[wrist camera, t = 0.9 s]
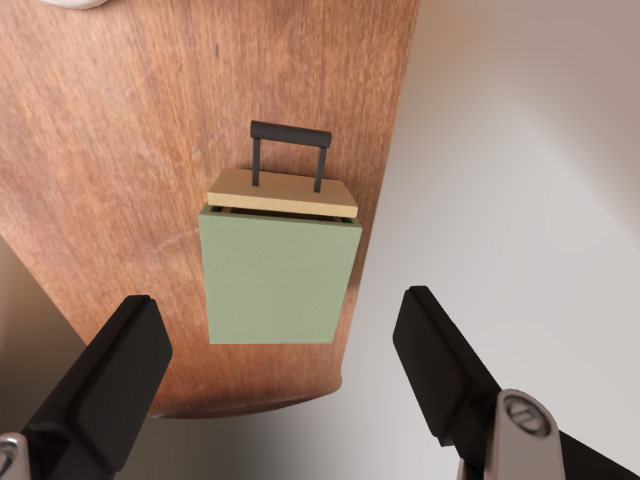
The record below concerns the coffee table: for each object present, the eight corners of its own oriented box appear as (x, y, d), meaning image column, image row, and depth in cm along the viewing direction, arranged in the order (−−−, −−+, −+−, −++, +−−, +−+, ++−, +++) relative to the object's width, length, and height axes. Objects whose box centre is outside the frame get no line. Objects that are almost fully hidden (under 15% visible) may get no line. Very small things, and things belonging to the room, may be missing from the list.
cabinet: (221, 178, 30) (198, 214, 22) (342, 191, 32) (363, 227, 24) (225, 288, 38) (209, 344, 30) (322, 291, 41) (332, 343, 32)
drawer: (223, 109, 25) (202, 118, 19) (352, 129, 28) (374, 143, 21) (228, 277, 36) (215, 321, 29) (322, 281, 38) (330, 322, 32)
